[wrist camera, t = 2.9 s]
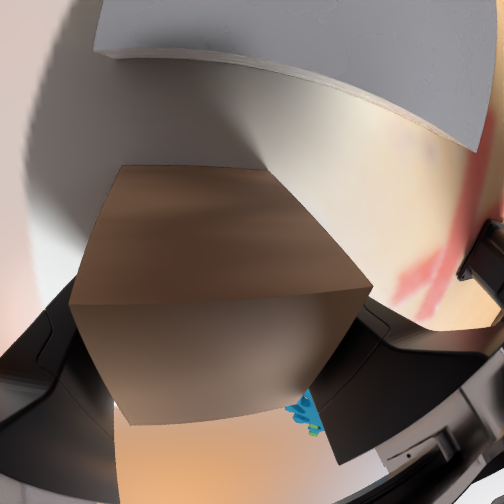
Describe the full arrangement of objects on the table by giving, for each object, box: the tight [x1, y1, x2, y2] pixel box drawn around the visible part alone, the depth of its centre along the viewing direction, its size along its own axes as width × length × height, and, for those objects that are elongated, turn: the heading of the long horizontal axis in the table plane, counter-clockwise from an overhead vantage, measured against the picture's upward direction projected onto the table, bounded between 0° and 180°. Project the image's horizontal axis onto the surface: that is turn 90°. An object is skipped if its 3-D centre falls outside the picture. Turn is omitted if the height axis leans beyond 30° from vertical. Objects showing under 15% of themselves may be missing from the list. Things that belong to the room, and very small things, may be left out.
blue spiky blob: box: [285, 389, 325, 436], centre depth 22 cm, size 11×6×10 cm
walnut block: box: [68, 165, 373, 425], centre depth 7 cm, size 5×5×6 cm
